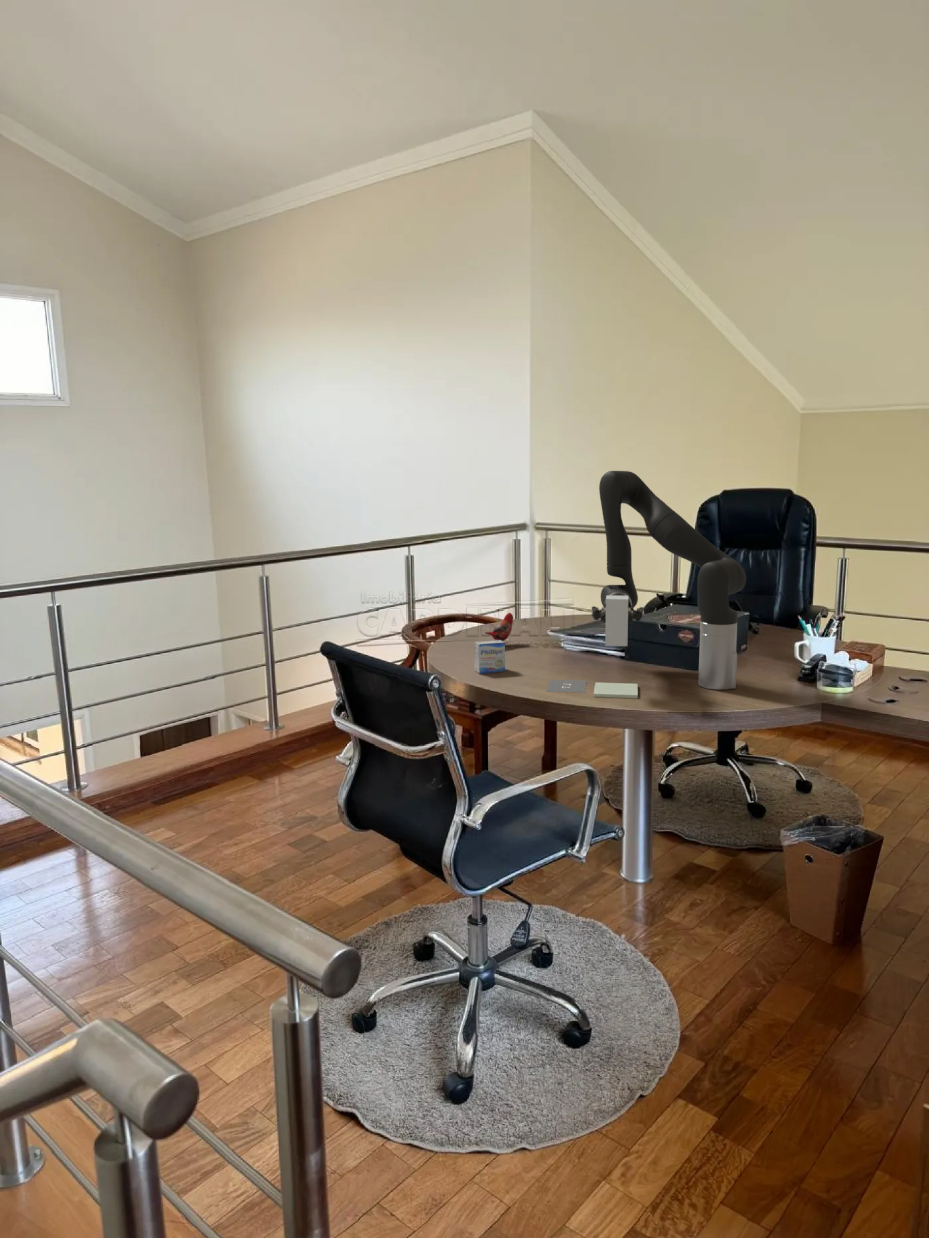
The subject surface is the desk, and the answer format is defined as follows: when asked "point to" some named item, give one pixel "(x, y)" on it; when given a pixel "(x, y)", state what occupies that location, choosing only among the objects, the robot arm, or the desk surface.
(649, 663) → the desk surface
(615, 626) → the light grey block
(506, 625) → the decorative bird figurine
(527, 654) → the desk surface
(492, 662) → the medicine box
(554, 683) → the tile
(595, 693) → the sage mat
